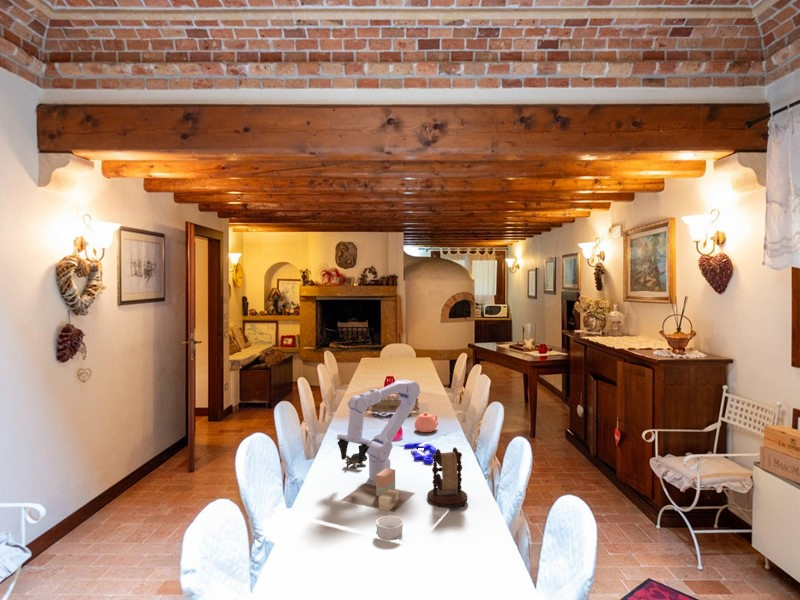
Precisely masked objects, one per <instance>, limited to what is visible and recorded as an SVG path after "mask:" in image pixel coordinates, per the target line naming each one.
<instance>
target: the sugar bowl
mask: <svg viewBox="0 0 800 600" xmlns="http://www.w3.org/2000/svg"><path fill="white" fill-rule="evenodd" d="M438 426H439V423H438V416H437V414H430V413H429V412H426V411H423V413H421V414H419V415H418V416H417V417H416V419H415V421H414V428H415V430H416V431H418V432H421V433H422V432H426V433H432V431H433V432H435V430H436V429H437V427H438Z"/></svg>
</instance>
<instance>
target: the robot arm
mask: <svg viewBox="0 0 800 600" xmlns="http://www.w3.org/2000/svg"><path fill="white" fill-rule="evenodd" d="M420 388H421V387H420V385H419V383H418V382H417V381H413V380H412V381H411V380H408V379H405V378H400V379H398V380H395V381H394V382H392V383H390V384H388V385H386V386H384V387H382V388H380V389H377V388H369V390H367V391H366V392H361V393H360V394H359V395H357V394H356V395H355V394H354V395H353V396H351V397H350V398H349V401H348V402H347V406H348V409H349V417H348V418H349V419H348V427H347V434H342V433H339V434H337V435H336V436H337V437H336V440H337V445H338V447H339V450H340V456H341V460H342V461H344V460H345V459H347V458H346V456H347V450H348V446H349V443H354V444H359V445H358V453H359V460H358V463H359V464H358V463H357V464H358V465H361V463H364V461H363V459H364V456H365V455H366V454H367V455H368V462H369V463H368V467H369V468H368V476H369V477H368V479H369V480H370V481H371V482H372V481H373V482H376V475H377V474H378V473H380V472H381V471H383V470H384V469H385V468H388V469H391V460H390V458H389V457H390V456H391V455H390V454H391V450H393V448H394V447H393V442H392V441H393V439H394V438H395V437H396V435H397V433H398V432H399V430H400V429H401V428H402V426H403V425H404V423H405V421H406V420H407V419H408V417H409V415H410V414H411V412H412V411H413V409H414V407H416V406H415V405H416V401H417V399H418V397H419V395H420V394H421V389H420ZM396 393H397V395H398V397H399V400H400V404H399V406H398V407H397V409H396V410H395V411H394V413H393V414H392V416H391V417H390V419H389V420H388V422H387V424H385V426H384V427H383V429H382V431H381V432H380V433H379V434H376V435H375V436H373V438H372V439H368V438H367V439H366V438H364V437H363V431H364V430H363V429H364V421H365V420H364V418H365V412H366V411H367V409H368V408H369V407H371V406H374V405H376V404H379V403H381V401H382V399H383V398H386V397H388V396H390V395H393V394H396Z"/></svg>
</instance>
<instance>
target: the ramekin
mask: <svg viewBox="0 0 800 600" xmlns="http://www.w3.org/2000/svg"><path fill="white" fill-rule="evenodd" d="M403 525H404V520H403V519H402V518H401V517H399V516H396V515H385V516H384V515H383V516H380V517H378V518H377V519H376V520H375V526H376V535H377V537H378V538H379V539H381V540H385V541H395V540H398V538H397V537H399V536H401V535H402V533H403V527H404V526H403Z"/></svg>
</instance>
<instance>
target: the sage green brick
mask: <svg viewBox="0 0 800 600" xmlns="http://www.w3.org/2000/svg"><path fill="white" fill-rule="evenodd" d="M389 489H390V490H395V489H396V480H395V481H393V482H392V483H391V484H389V485H388V486H387V487H381V486H376V496H378V497H380V496H381V495H383V494H384V493H385V492H386V491H388V490H389Z"/></svg>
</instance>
